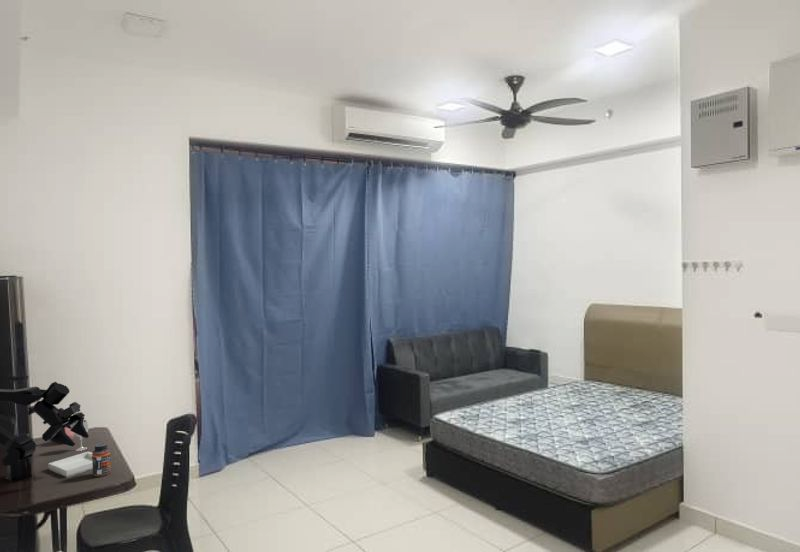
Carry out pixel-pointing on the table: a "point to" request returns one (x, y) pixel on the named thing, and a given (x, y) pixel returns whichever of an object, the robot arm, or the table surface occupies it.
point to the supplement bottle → (101, 460)
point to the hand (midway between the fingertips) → (81, 441)
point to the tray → (72, 465)
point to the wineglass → (81, 436)
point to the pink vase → (69, 433)
